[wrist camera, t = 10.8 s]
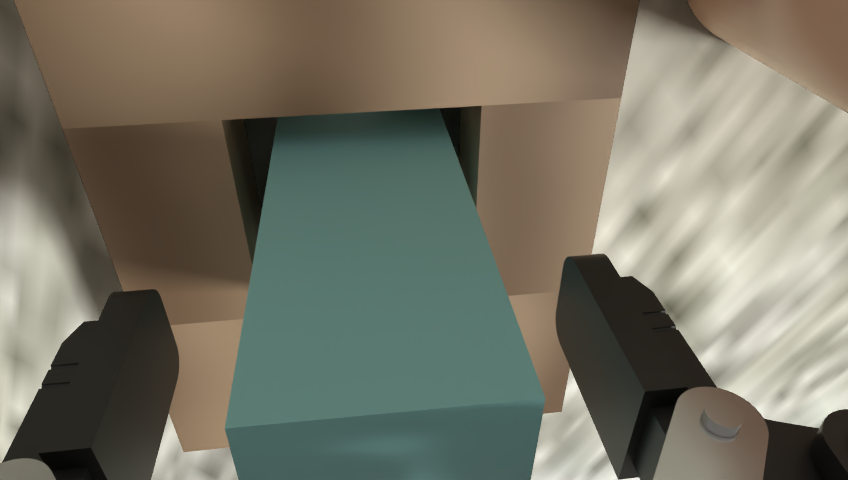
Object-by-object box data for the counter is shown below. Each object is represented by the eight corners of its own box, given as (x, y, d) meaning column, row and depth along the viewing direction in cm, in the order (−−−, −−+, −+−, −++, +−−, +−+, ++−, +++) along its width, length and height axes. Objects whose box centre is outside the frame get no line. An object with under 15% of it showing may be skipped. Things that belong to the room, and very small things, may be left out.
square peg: (435, 98, 16) (545, 397, 8) (433, 226, 18) (515, 560, 10) (279, 104, 16) (224, 429, 7) (297, 234, 18) (269, 590, 10)
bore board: (619, -184, 13) (674, -182, 11) (540, 356, 22) (561, 411, 20) (14, -179, 12) (-53, -177, 10) (197, 389, 21) (183, 452, 19)
